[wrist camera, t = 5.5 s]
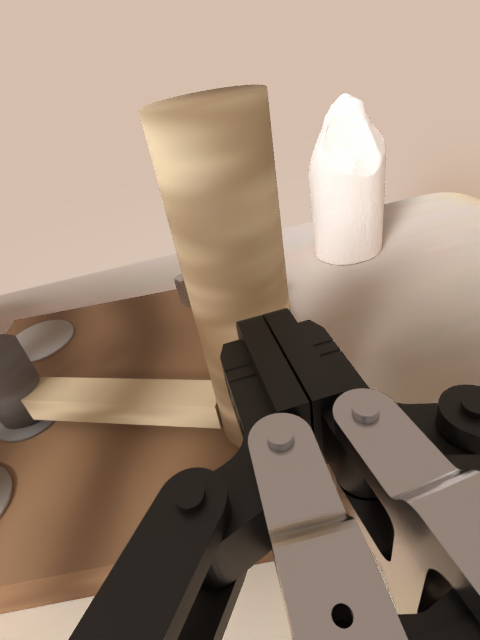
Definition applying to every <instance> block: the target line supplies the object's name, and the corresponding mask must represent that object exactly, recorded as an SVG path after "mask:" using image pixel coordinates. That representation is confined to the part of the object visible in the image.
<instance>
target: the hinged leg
mask: <svg viewBox="0 0 480 640" xmlns="http://www.w3.org/2000/svg"><path fill="white" fill-rule="evenodd" d="M139 114H140V118H141V122H142V125H143V129H144V133H145V137H146V140H147V144H148V148H149V151H150V155H151V159H152V162H153V167H154V170H155V174H156V177H157V181H158V185H159V189H160V192H161V196H162V200H163V203H164V207H165V211H166V215H167V218H168V222H169V226H170V230H171V234H172V237H173V240H174V245H175V248H176V252H177V256H178V260H179V263H180V267H181V271H182V274H183V278H184V282H185V286H186V289H187V293H188V297H189V300H190V304H191V308H192V312H193V315H194V319H195V323H196V327H197V330H198V334H199V338H200V341H201V345H202V349H203V353H204V356H205V360H206V364H207V367H208V371H209V375H210V379H211V380H176V379H123V378H71V377H40V376H39V374H38V372H37V371H36V369H35V367H34V366H33V364H32V362H31V361H30V359H29V357H28V356H27V354H26V352H25V351H24V349H23V347H22V346H21V344H20V342H19V341H18V339H17V337H16V336H14V335H10V334H2V335H0V422H1V423H2V425H3V426H4V427H6V428H8V429H20V428H24V427H27V426H29V425H31V424H33V423H35V422H36V421H38V420H52V421H73V422H94V423H114V424H135V425H156V426H176V427H197V428H218V429H221V426H222V423H223V427H224V431H225V433H226V435H227V437H228V439H229V440H230V441H231V442H232V443H233V444H235V445H236V446H238V447H239V448H240V447H241V445H242V442H243V437H242V434H241V431H240V428H239V425H238V422H237V419H236V416H235V413H234V410H233V407H232V404H231V401H230V398H229V394H228V390H227V386H226V381H225V377H224V373H223V369H222V364H221V360H220V355H221V351H222V347H223V344H225V343H228V342H232V341H236V340H239V339H238V334H237V329H236V322H237V321H241V320H244V319H248V318H252V317H255V316H259V315H261V316H262V314H266V313H270V312H273V311H277V310H280V309H284V308H288V309H289V311H290V308H289V298H288V289H287V279H286V269H285V259H284V249H283V240H282V230H281V221H280V210H279V201H278V191H277V181H276V171H275V161H274V152H273V143H272V133H271V122H270V113H269V102H268V93H267V87H266V86H265V85H242V86H233V87H225V88H219V89H213V90H206V91H201V92H196V93H191V94H186V95H182V96H177V97H173V98H169V99H166V100H162V101H159V102H155V103H153V104H150V105H147V106H145V107H143V108H141V109H140V110H139Z"/></svg>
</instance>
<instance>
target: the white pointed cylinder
mask: <svg viewBox="0 0 480 640" xmlns="http://www.w3.org/2000/svg"><path fill="white" fill-rule="evenodd" d="M385 148H386V147H385V140H384V138H383V136H382V135H381V134H380V132H379V131H378V130H377V128H376V127H375V126H373V125H372V123H371V121H370V119H369V117H368V115H367V112H366V110H365V106H364V103H363V101H361V100H360V99H358V98H355V97H353V96H351V95H350V94H342V95H341V96H340V97H339V98H338V99H337V100H336V101H335V102H334V104H332V105H331V107H330V110H329V111H328V113H327V114H326V116H325V118H324V124H323V127H322V130H321V132H320V134H319V137H318V140H317V142H316V145H315V148H314V151H313V154H312V157H311V163H310V167H309V184H310V193H311V205H312V206H311V207H312V215H313V228H314V246H315V255H316V257H317V258H318V259H319V260H321V261H323V262H325V263H329V264H333V265H349V264H356V263H360V262H364V261H367V260H369V259H371V258H373V257H375V256H376V255H377V254H378V253H379V252H380V250H381V248H382V232H383V211H384V187H385V168H386V167H385V166H386V165H385V162H386V149H385Z"/></svg>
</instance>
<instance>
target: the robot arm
mask: <svg viewBox="0 0 480 640" xmlns="http://www.w3.org/2000/svg"><path fill="white" fill-rule="evenodd" d="M236 329H237V334H238V339H239V340H236V341H232V342H228V343H225V344H223V347H222V351H221V355H220V360H221V364H222V369H223V373H224V377H225V381H226V386H227V390H228V394H229V398H230V401H231V404H232V407H233V410H234V413H235V416H236V419H237V422H238V425H239V428H240V431H241V434H242V437H243V442H242V445H241V447H240V448H239V450H238V452H237V453H236V454H235V455H234V456H233V457H232V458H231V459H230V460H229V461H228V462H226V463H225V464H223V465H222V466H220V467H219V468H217V469H216V470H214V471H212V470H210V469H207V468H203V467H194V468H188V469H185V470H182V471H180V472H178V473H176V474H175V475H173V476H172V477H171V478H170V479H168V481H167V482H166V483H165V484H164V485H163V487H162V488H161V489H160V491H159V493H158V494H157V496H156V498H155V499H154V501H153V503H152V504H151V506H150V507H149V509H148V511H147V512H146V514H145V516H144V517H143V519H142V520H141V522H140V524H139V525H138V527H137V529H136V530H135V532H134V534H133V535H132V537H131V538H130V540H129V542H128V543H127V545H126V547H125V548H124V550H123V551H122V553H121V555H120V556H119V558H118V560H117V561H116V563H115V565H114V566H113V568H112V569H111V571H110V573H109V574H108V576H107V578H106V579H105V581H104V582H103V584H102V586H101V587H100V589H99V591H98V592H97V594H96V596H95V597H94V599H93V600H92V602H91V604H90V605H89V607H88V609H87V610H86V612H85V614H84V615H83V617H82V618H81V620H80V622H79V623H78V625H77V627H76V628H75V630H74V631H73V633H72V635H71V636H70V638H69V640H222V638H223V635H224V632H225V630H226V627H227V624H228V622H229V619H230V616H231V614H232V611H233V609H234V606H235V603H236V601H237V598H238V595H239V593H240V590H241V587H242V585H243V582H244V579H245V576H246V573H247V570H248V569H249V568H251V567H252V566H253V565H254V564H255V563H257V562H258V561H259V560H260V559H262V558H263V557H264V556H265V555H266V554H268V553H269V552H270V551H271V550H272V553H273V557H274V562H275V566H276V570H277V574H278V579H279V583H280V587H281V592H282V596H283V600H284V605H285V609H286V613H287V618H288V622H289V626H290V631H291V635H292V639H293V640H480V386H475V385H458V386H453V387H451V388H448V389H447V390H445V391H444V392H443V393H442V394H441V396H440V398H439V402H438V403H434V404H401V403H395V402H394V401H393V400H392V399H391V398H390V397H389V396H387V395H386V394H384V393H382V392H379V391H376V390H373V389H370V388H369V387H368V386H367V385H366V383H365V382H364V381H363V379H362V378H361V377H360V375H359V374H358V373H357V371H356V370H355V369H354V367H353V366H352V365H351V363H350V362H349V361H348V359H347V358H346V357H345V355H344V354H343V353H342V351H341V352H340V349H339V347H338V346H337V345H336V343H335V342H333V339H332V338H331V337H330V335H329V334H328V333H327V331H326V330H325V329H324V328H323V327H321V326H320V325H318V324H316V323H314V322H312V321H311V320H307V321H303V322H299V323H297V321H296V320H295V318H294V317H293V315H292V314H291V312H290V311H289V309H288V308H284V309H280V310H277V311H273V312H270V313H266V314H262V316H261V315H259V316H255V317H252V318H248V319H244V320H241V321H237V322H236ZM326 464H329V465H330V467H331V469H332V471H333V473H334V475H335V485H334V482H333V480H332V478H331V475H330V473H329V470H328V468H327V465H326ZM341 500H342V502H343V504H344V506H345V507H346V509H347V511H348V512H349V514H350V516H349V515H348V514H347V513H346V511H345V509H344V507H343V504H342V502H341ZM367 544H368V545H367ZM368 546H369V547H370V549H371V551H372V553H373V554H374V556H375V558H376V559H377V561H378V563H379V564H380V566H381V568H382V570H383V572H384V575H385V577H386V580H387V584H388V588H389V591H390V593H391V596H392V598H393V600H394V603H395V605H396V607H397V609H398V611H399V612H400V614H397V612H396V610H395V608H394V605H393V603H392V601H391V598H390V596H389V594H388V591H387V589H386V587H385V584H384V582H383V580H382V577H381V575H380V573H379V570H378V568H377V566H376V563H375V561H374V559H373V556H372V554H371V552H370V549H369V547H368Z"/></svg>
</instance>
